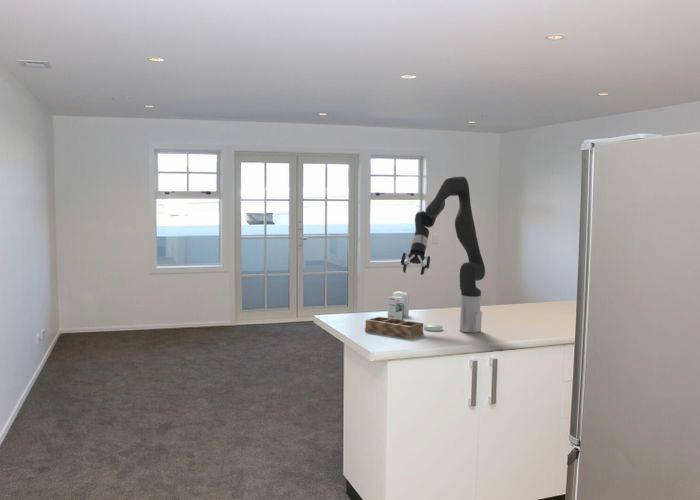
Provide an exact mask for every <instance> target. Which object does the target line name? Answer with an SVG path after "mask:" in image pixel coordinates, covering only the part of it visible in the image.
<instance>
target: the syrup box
mask: <svg viewBox="0 0 700 500" xmlns="http://www.w3.org/2000/svg"><path fill="white" fill-rule="evenodd" d="M387 318H393V319H399V320H405V319H404V318H405V317H404V297H401V296H388V297H387Z"/></svg>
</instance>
